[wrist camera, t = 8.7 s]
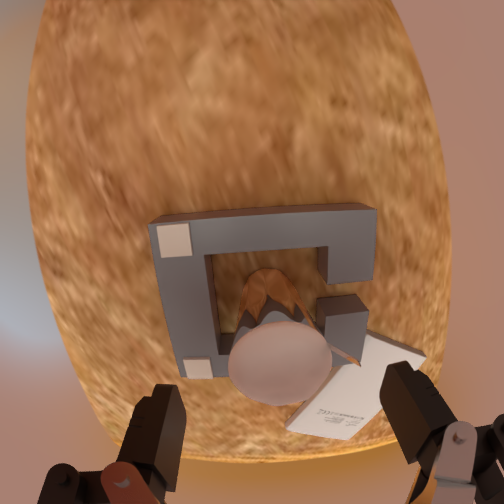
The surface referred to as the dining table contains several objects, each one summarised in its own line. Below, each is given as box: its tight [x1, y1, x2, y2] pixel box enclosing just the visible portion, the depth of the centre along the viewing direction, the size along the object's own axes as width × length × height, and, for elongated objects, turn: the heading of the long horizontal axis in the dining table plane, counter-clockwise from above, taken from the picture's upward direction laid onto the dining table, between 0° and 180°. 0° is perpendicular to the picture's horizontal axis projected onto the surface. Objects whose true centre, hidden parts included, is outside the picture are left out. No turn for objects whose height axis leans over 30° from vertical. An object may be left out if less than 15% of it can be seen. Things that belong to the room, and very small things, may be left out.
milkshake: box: [228, 268, 361, 406], centre depth 14 cm, size 4×5×10 cm
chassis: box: [148, 203, 377, 379], centre depth 18 cm, size 11×13×3 cm
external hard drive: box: [285, 329, 427, 440], centre depth 23 cm, size 2×8×12 cm
